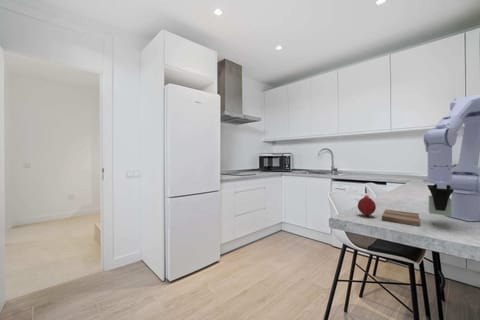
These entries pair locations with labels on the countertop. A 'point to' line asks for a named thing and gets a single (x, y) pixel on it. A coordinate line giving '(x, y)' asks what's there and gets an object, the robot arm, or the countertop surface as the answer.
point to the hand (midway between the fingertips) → (439, 208)
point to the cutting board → (401, 217)
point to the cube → (434, 211)
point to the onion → (366, 206)
